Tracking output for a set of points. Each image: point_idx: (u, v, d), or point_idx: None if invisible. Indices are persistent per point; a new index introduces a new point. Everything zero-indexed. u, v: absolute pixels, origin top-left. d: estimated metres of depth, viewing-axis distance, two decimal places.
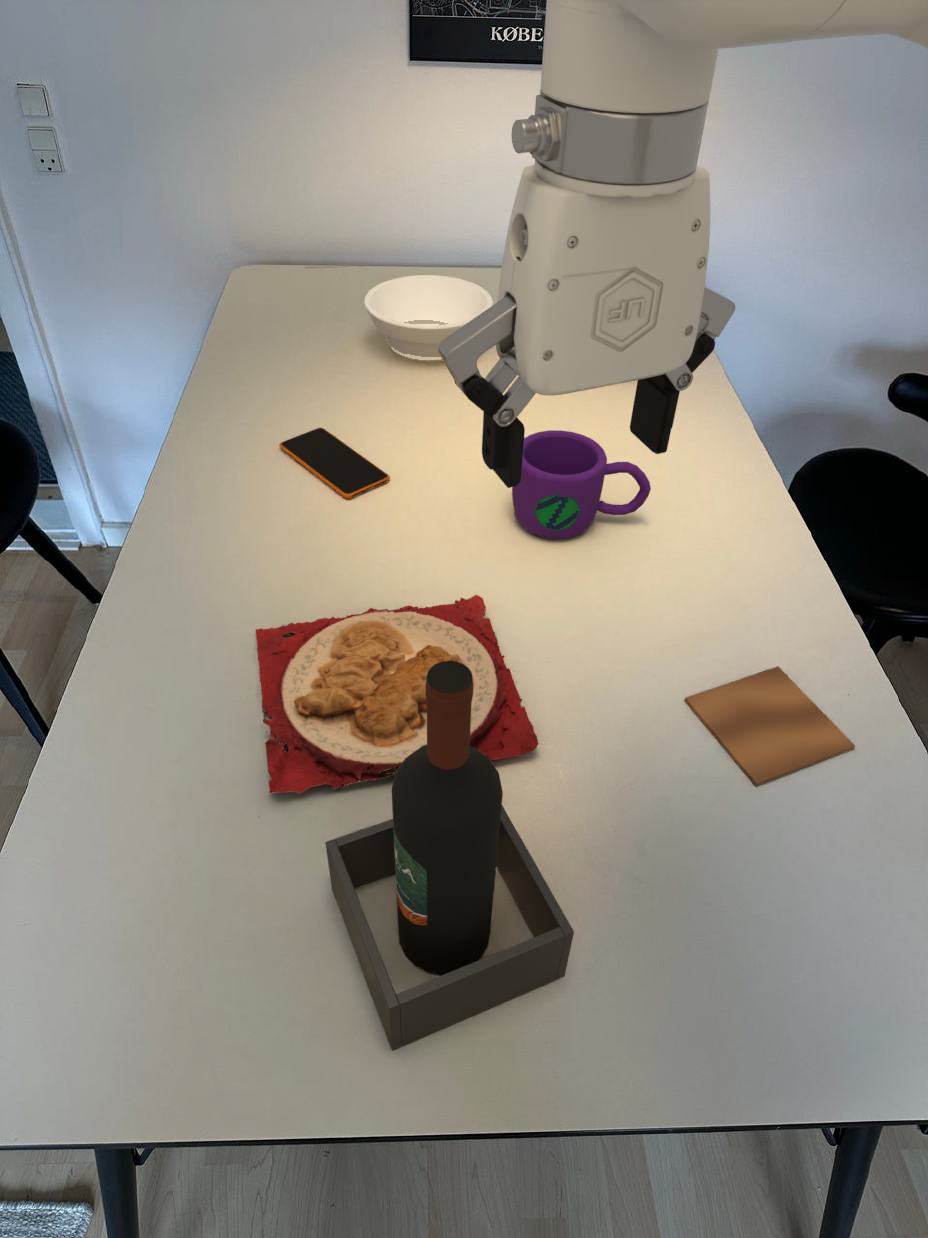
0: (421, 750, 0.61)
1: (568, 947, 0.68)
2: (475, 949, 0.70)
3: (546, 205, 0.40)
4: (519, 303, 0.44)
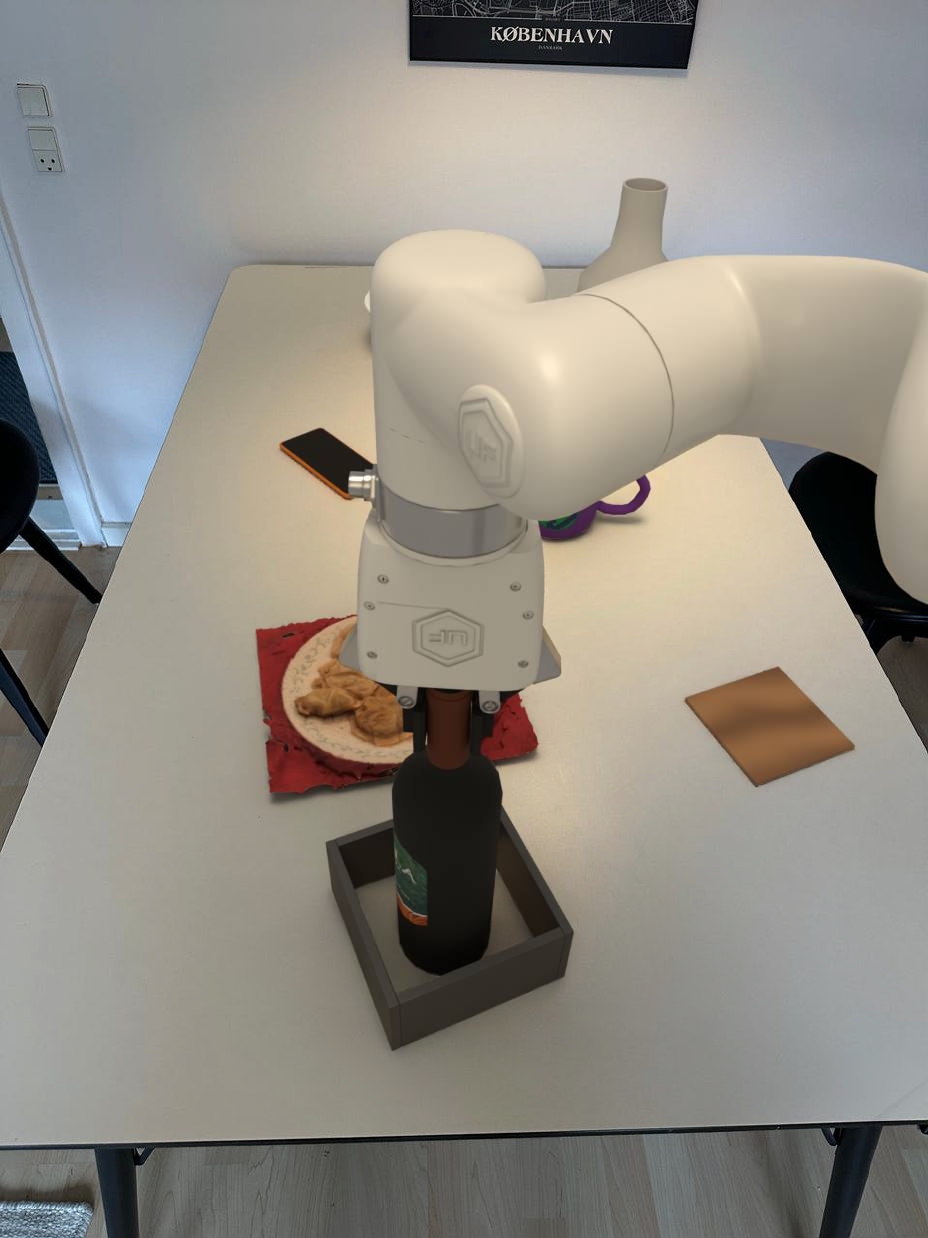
0: None
1: (568, 947, 0.68)
2: (475, 949, 0.70)
3: (364, 545, 0.45)
4: None
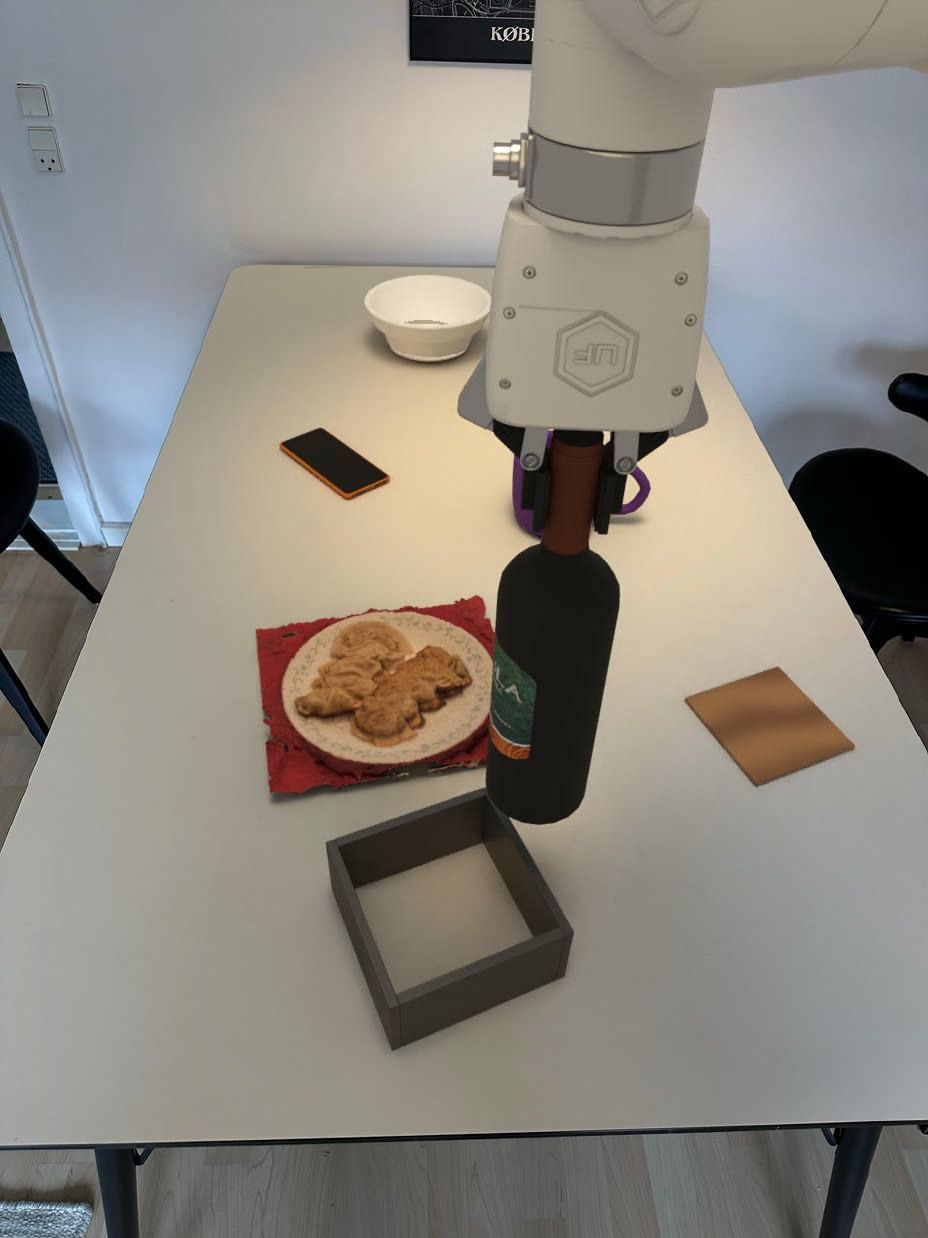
0: (530, 548, 0.55)
1: (568, 947, 0.68)
2: (575, 793, 0.64)
3: (508, 231, 0.40)
4: None
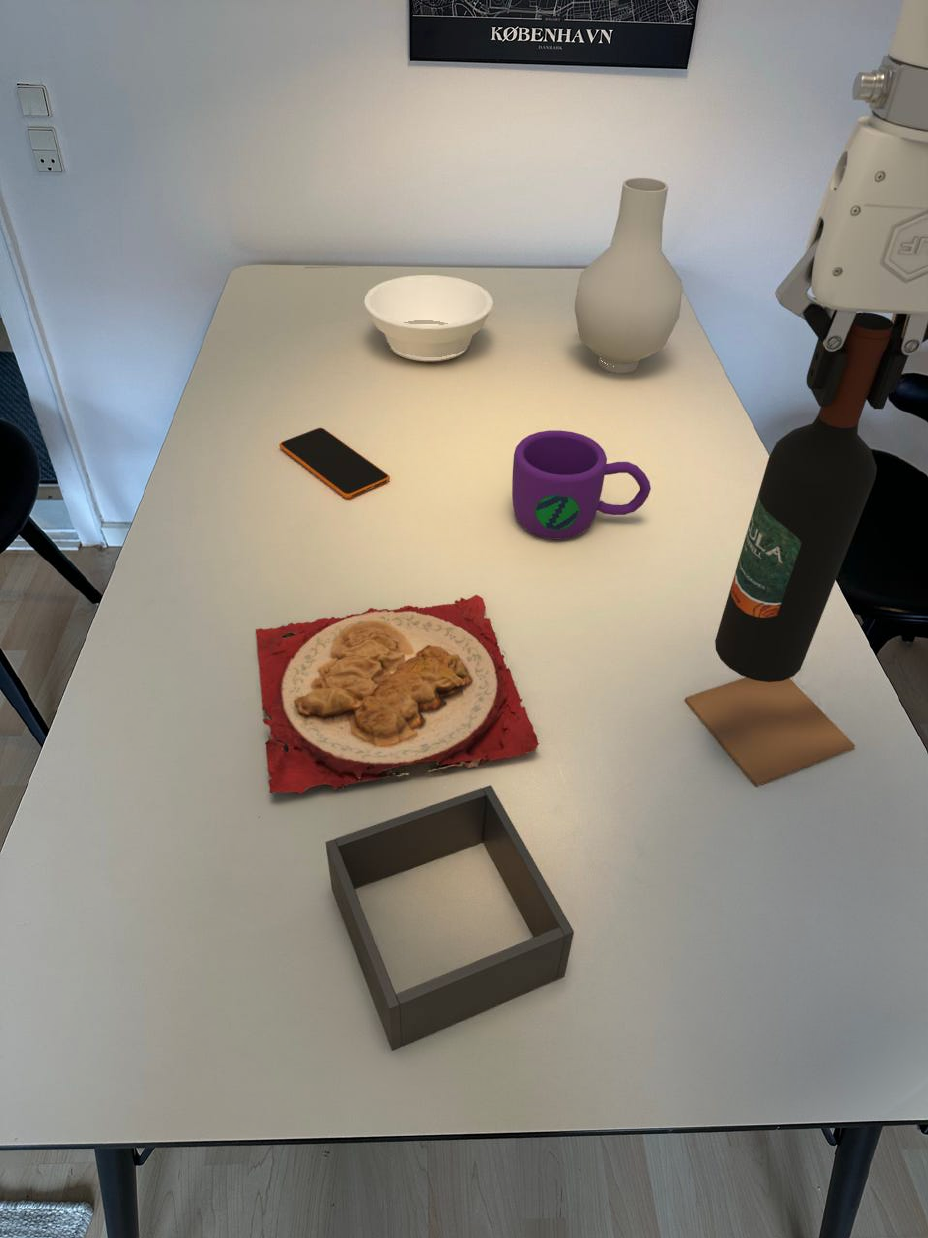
0: (798, 428, 0.66)
1: (568, 947, 0.68)
2: (803, 653, 0.75)
3: (865, 143, 0.50)
4: (825, 225, 0.54)
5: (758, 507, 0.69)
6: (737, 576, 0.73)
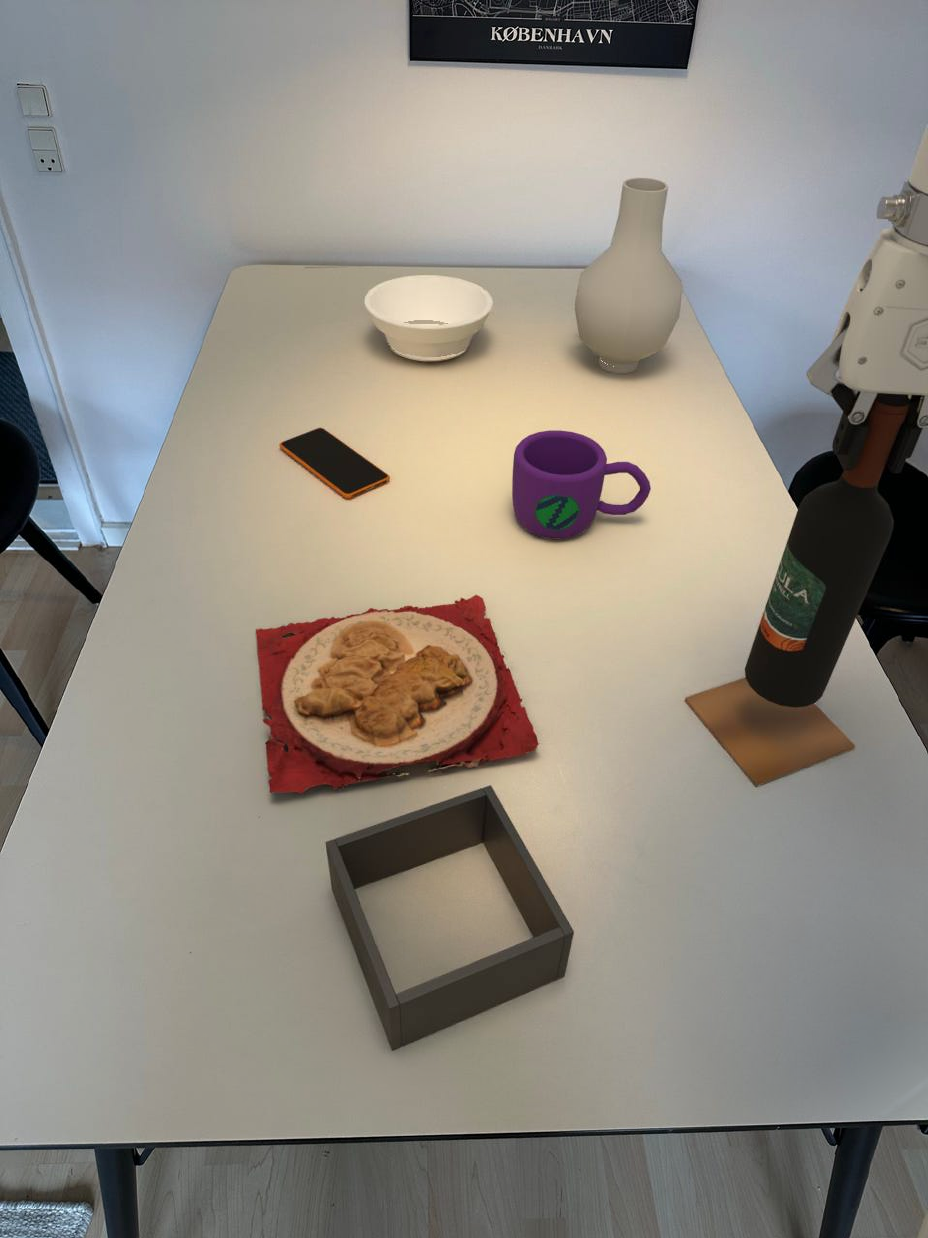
0: (824, 485, 0.74)
1: (568, 947, 0.68)
2: (825, 682, 0.83)
3: (888, 256, 0.59)
4: (852, 320, 0.62)
5: (787, 554, 0.77)
6: (766, 613, 0.82)
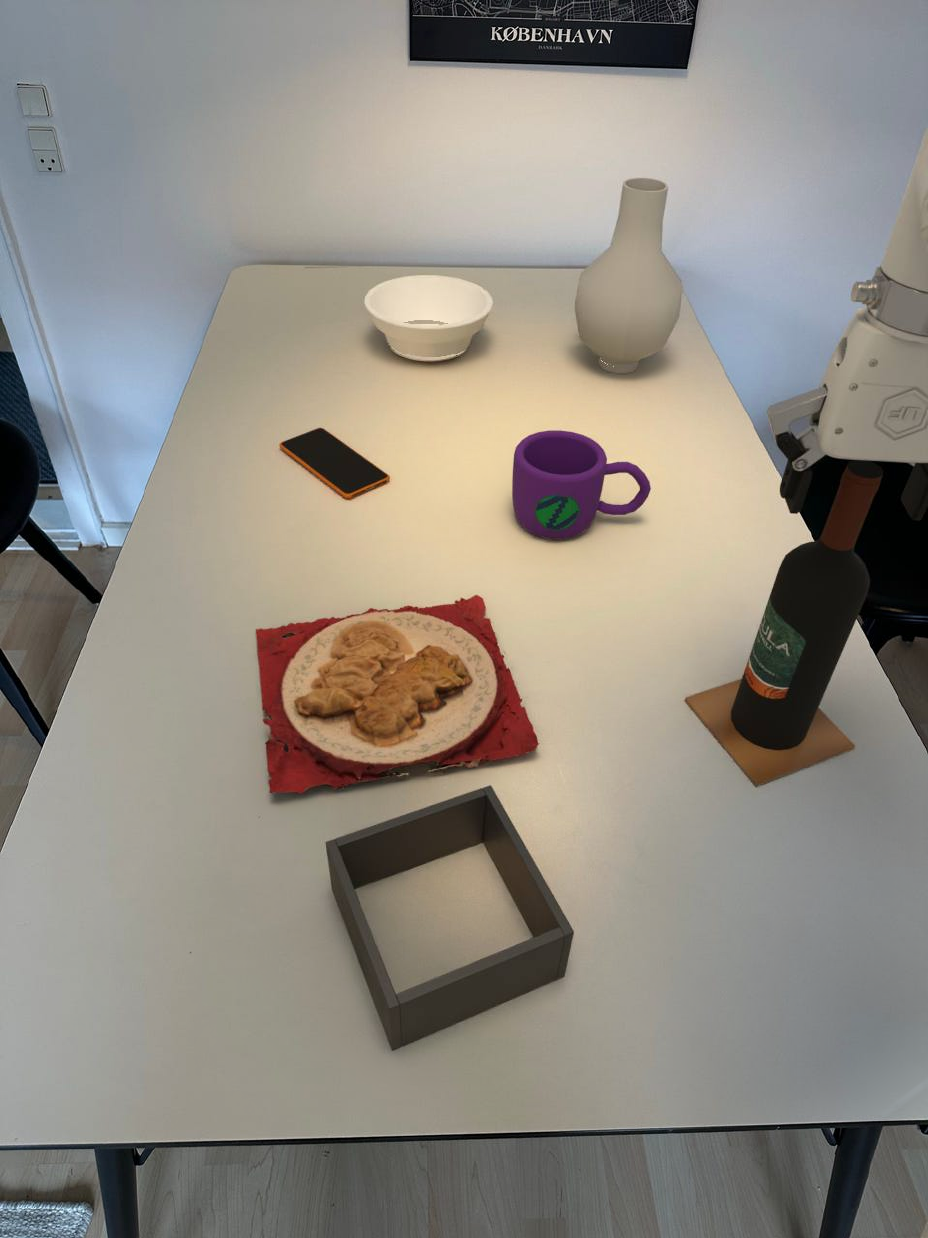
0: (804, 545, 0.78)
1: (568, 947, 0.68)
2: (807, 726, 0.87)
3: (861, 336, 0.62)
4: (829, 393, 0.66)
5: (769, 608, 0.81)
6: (751, 661, 0.86)
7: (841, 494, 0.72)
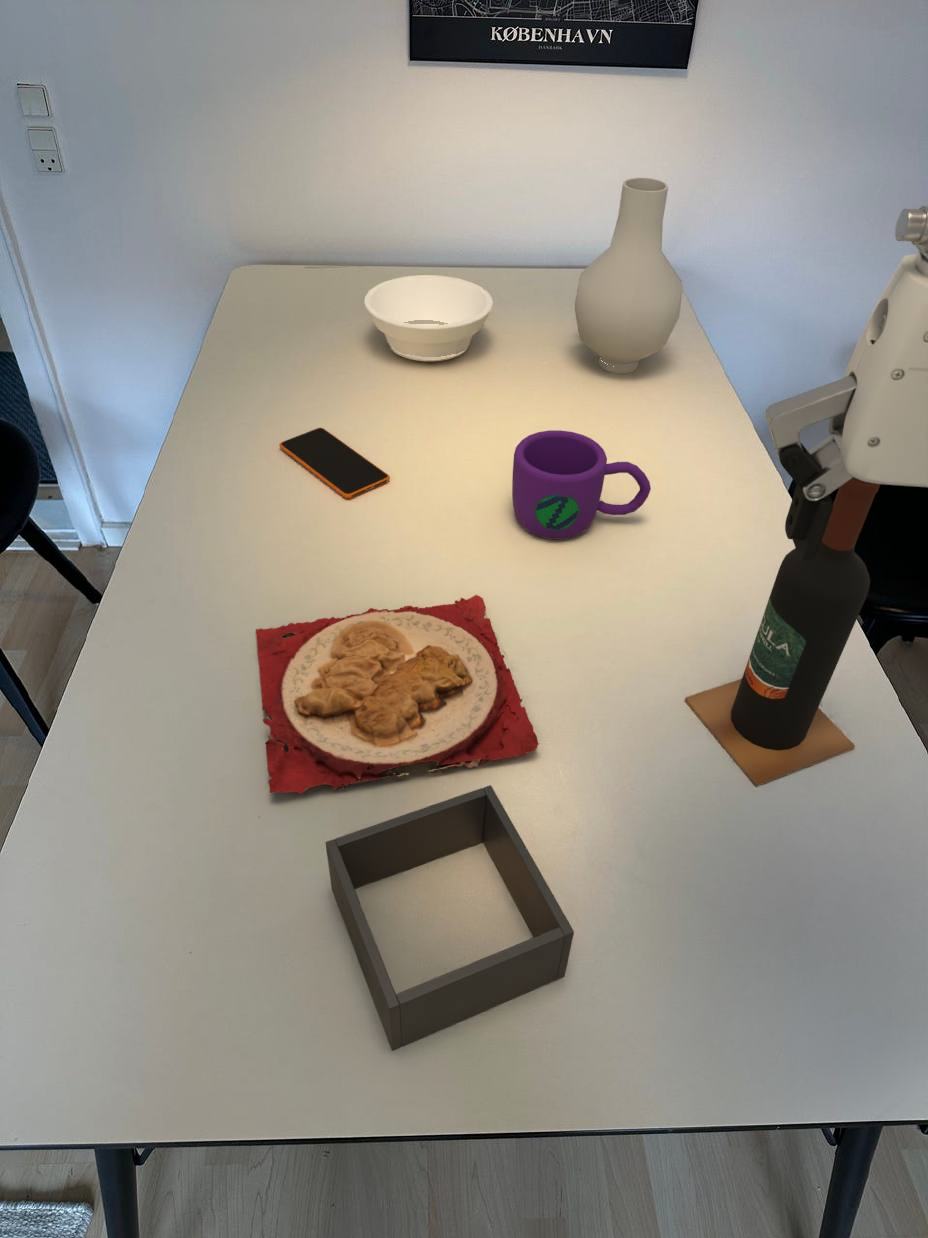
0: None
1: (568, 947, 0.68)
2: (807, 726, 0.87)
3: (911, 295, 0.40)
4: (859, 385, 0.44)
5: (769, 608, 0.81)
6: (751, 662, 0.86)
7: (841, 494, 0.72)
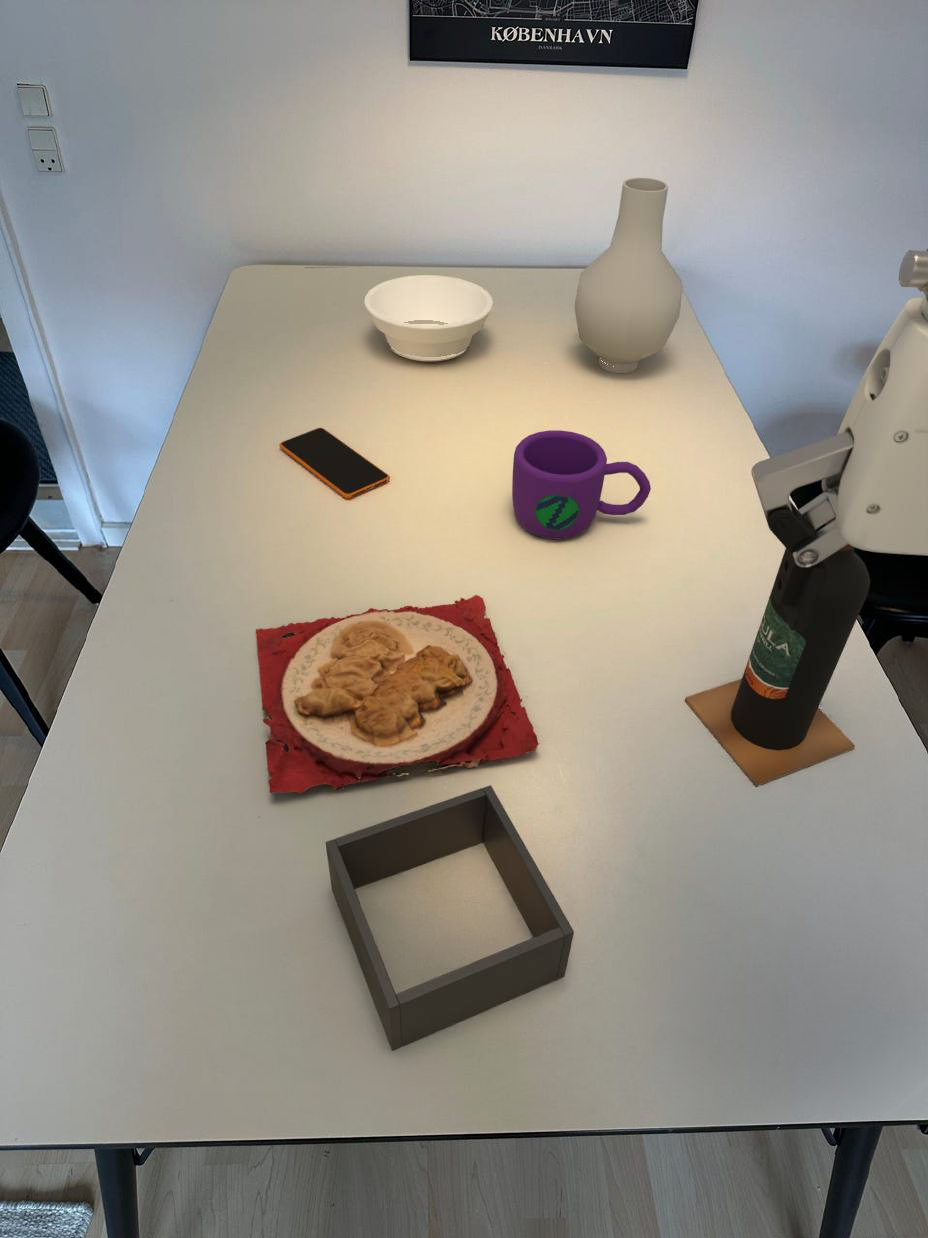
0: None
1: (568, 947, 0.68)
2: (807, 726, 0.87)
3: (917, 349, 0.35)
4: (857, 445, 0.38)
5: (769, 608, 0.81)
6: (751, 662, 0.86)
7: None
